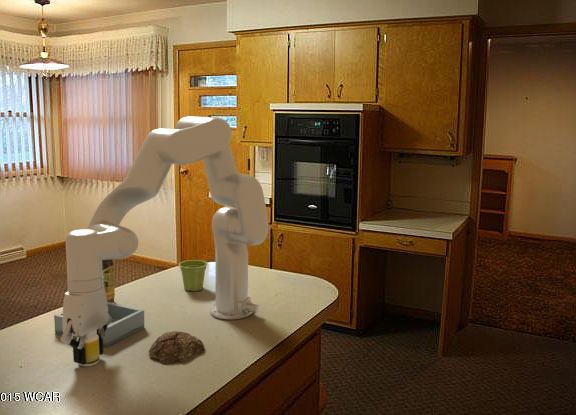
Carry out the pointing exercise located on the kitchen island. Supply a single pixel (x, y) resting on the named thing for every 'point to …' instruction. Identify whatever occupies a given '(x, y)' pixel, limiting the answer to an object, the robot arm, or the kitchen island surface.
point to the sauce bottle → (108, 279)
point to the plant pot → (193, 274)
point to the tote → (114, 323)
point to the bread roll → (176, 347)
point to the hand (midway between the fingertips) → (88, 357)
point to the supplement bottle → (91, 348)
